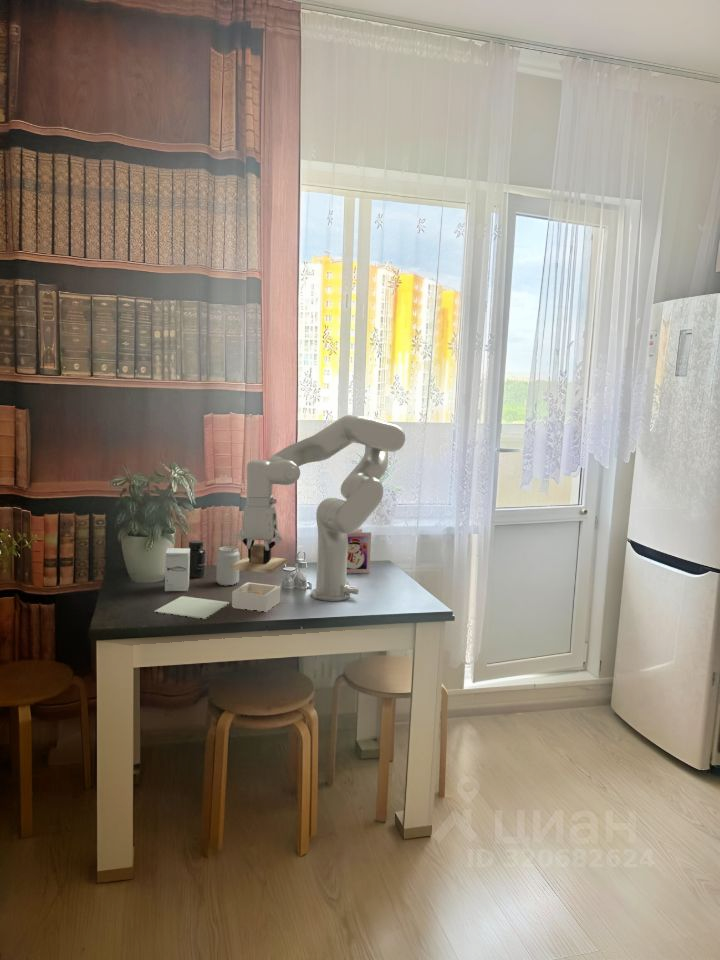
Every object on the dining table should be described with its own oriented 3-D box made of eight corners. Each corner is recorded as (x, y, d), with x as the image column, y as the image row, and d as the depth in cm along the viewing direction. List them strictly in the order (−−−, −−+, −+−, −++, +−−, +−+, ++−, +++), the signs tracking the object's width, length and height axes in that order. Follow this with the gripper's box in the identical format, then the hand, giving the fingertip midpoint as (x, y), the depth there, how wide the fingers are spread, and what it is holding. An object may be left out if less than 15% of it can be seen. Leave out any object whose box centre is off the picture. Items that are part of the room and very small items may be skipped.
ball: (264, 601, 223) (264, 589, 223) (259, 604, 220) (260, 592, 219) (253, 599, 224) (253, 588, 224) (248, 603, 221) (248, 591, 220)
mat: (229, 603, 222) (229, 602, 222) (204, 619, 207) (204, 617, 207) (181, 597, 226) (181, 596, 226) (154, 612, 211) (154, 610, 211)
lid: (287, 562, 226) (287, 543, 225) (271, 573, 213) (271, 552, 212) (248, 559, 229) (248, 539, 228) (230, 569, 216) (230, 549, 215)
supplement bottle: (204, 578, 248) (204, 544, 247) (183, 578, 248) (184, 543, 246) (206, 573, 255) (207, 539, 254) (186, 573, 254) (187, 539, 253)
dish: (280, 601, 226) (280, 586, 225) (266, 612, 216) (266, 595, 215) (247, 597, 229) (247, 582, 228) (232, 607, 218) (232, 591, 218)
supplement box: (164, 591, 231) (164, 552, 230) (166, 585, 239) (166, 547, 237) (188, 591, 233) (188, 552, 231) (189, 585, 240) (190, 547, 238)
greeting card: (338, 573, 262) (340, 532, 260) (335, 568, 270) (337, 528, 268) (369, 573, 265) (371, 533, 263) (365, 568, 272) (367, 528, 270)
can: (236, 587, 240) (237, 551, 239) (214, 585, 240) (214, 550, 239) (240, 580, 248) (241, 546, 246) (218, 579, 248) (219, 545, 246)
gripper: (290, 501, 220) (289, 561, 222) (238, 498, 224) (239, 556, 226) (281, 505, 212) (280, 567, 215) (228, 502, 217) (228, 562, 219)
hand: (259, 561), depth 221 cm, fingers closed on lid, 4 cm apart
